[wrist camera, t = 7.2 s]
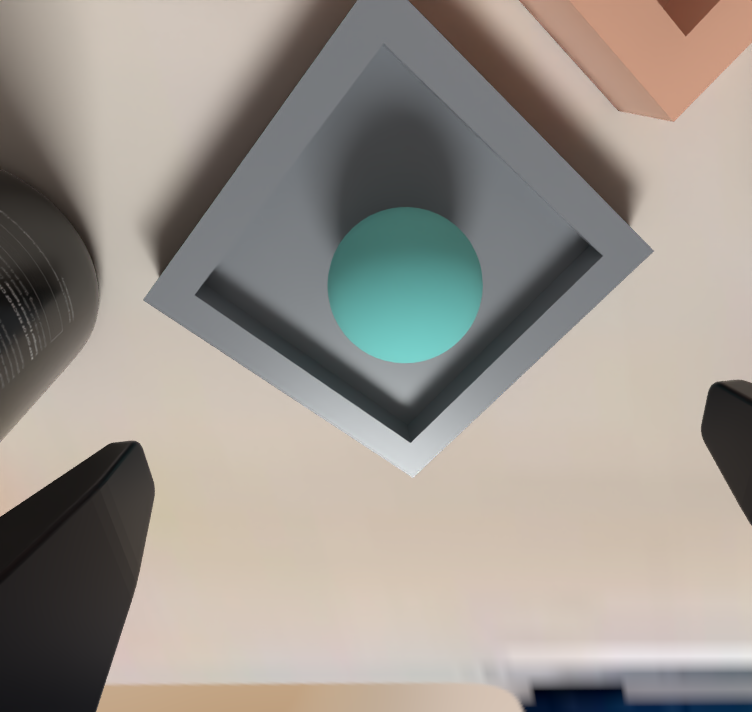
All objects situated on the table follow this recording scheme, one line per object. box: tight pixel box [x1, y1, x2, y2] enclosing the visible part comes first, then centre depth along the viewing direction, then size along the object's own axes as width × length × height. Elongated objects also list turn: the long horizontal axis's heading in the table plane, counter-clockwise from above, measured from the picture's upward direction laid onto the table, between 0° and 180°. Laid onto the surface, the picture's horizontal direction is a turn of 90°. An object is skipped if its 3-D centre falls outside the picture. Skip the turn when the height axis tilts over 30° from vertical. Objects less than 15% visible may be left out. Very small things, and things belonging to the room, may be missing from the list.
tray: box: [143, 0, 654, 478], centre depth 17 cm, size 10×10×2 cm
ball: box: [327, 207, 483, 363], centre depth 15 cm, size 4×4×4 cm
